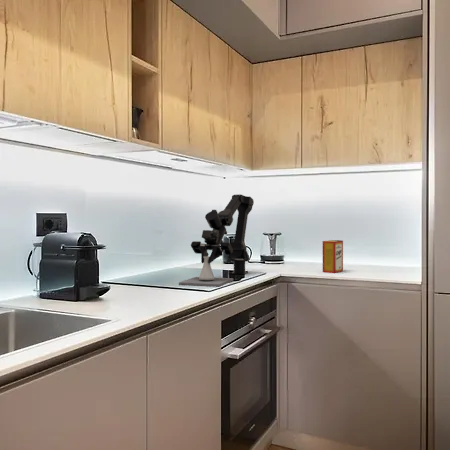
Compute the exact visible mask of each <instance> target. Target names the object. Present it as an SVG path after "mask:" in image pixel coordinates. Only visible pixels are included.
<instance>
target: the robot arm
mask: <svg viewBox="0 0 450 450" xmlns="http://www.w3.org/2000/svg"><path fill="white" fill-rule="evenodd" d="M253 206H254V199H253V198H252V197H251V196H246V195H244V194H240V193H239V194H233V195H232V196H231V199H230V201H229V202H228V204H227V205H226V206H225V207H224V209H222V210H221V211H218V210H217V209H211V211H209V212H207V213H206V214H205V217H204V218H205V220H206V222H207V224H208V226H209V228H211V230H208V229H206V230H205V229H204V230H202V234H201V238H202V239H203V240H204V241H203V242H201V241H199V240H196V241H192V242H191V244H190V246H191V247H190V248H191V249H192V251H193V253H195V254H200V255H201V262H200V263H202V264H204V256H210V257H209V260H208V263H209V264H210V265H211V263H212V262H214V261H215V260H216V259H218V258H219V257H222V256H223V253H224V255H228V258H229V262H233V271H232V272H231V275H232V274H233V275H246V274H247V273H248V271H246V262H249V261H250V256H249V253H248V251H247V246H246V243H245V237H246V232H247V231H246V230H247V223H248V217H249V214H250V212H251V211H252V210H253ZM236 211H237V212H238V214H237V220H236V229H235V234H234V240H233V241H231V242H230V241H223V239H224V236H225V235H228V231H227V228H226V227H230V226H232V224H233V221H234V217H233V216H234V215H235V213H236ZM208 251H211V252H210V255H209V253H208Z"/></svg>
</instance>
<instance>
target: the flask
mask: <svg viewBox="0 0 450 450" xmlns="http://www.w3.org/2000/svg"><path fill="white" fill-rule="evenodd" d="M209 257H210V255H208V256H204V263H202V265H203V266H202V268H201V271H200V274H199V276H198V277H199V280H214V279H215V278H216V277H215V276H214V273H213V270H212V266H211V263H210V264H209V263H208V260H209Z"/></svg>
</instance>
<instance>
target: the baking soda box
mask: <svg viewBox="0 0 450 450" xmlns="http://www.w3.org/2000/svg"><path fill="white" fill-rule="evenodd" d="M343 271H344V240H342V239H340V240H339V239H337V240H335V239H334V240H333V239H329V240H323V241H322V273H328V274H337V273H342V272H343Z"/></svg>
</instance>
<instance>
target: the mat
mask: <svg viewBox="0 0 450 450" xmlns="http://www.w3.org/2000/svg"><path fill="white" fill-rule="evenodd" d="M214 278H215V279H214V280H199V276H194V277H192V278H188V279H185V280H182V281H179V282H178V285H179V286H192V287H193V286H196V287H211V286H216V287H215V288H217V287H218V288H220V287H221V285H222V286H224V285H226V283H227V284H229V283H231V282H233V281H234V278H232V277H231V278H229V277H214ZM219 286H220V287H219Z"/></svg>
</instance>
